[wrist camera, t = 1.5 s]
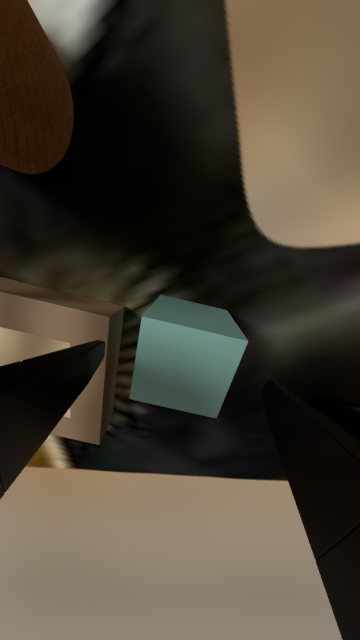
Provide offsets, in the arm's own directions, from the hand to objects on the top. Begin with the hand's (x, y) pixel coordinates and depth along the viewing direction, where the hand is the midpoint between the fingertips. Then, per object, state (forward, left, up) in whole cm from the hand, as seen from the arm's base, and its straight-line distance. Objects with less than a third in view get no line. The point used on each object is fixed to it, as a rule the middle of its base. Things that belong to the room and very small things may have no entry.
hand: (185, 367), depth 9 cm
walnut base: (+11, +5, -4) cm, 13 cm away
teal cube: (0, 0, -4) cm, 4 cm away
